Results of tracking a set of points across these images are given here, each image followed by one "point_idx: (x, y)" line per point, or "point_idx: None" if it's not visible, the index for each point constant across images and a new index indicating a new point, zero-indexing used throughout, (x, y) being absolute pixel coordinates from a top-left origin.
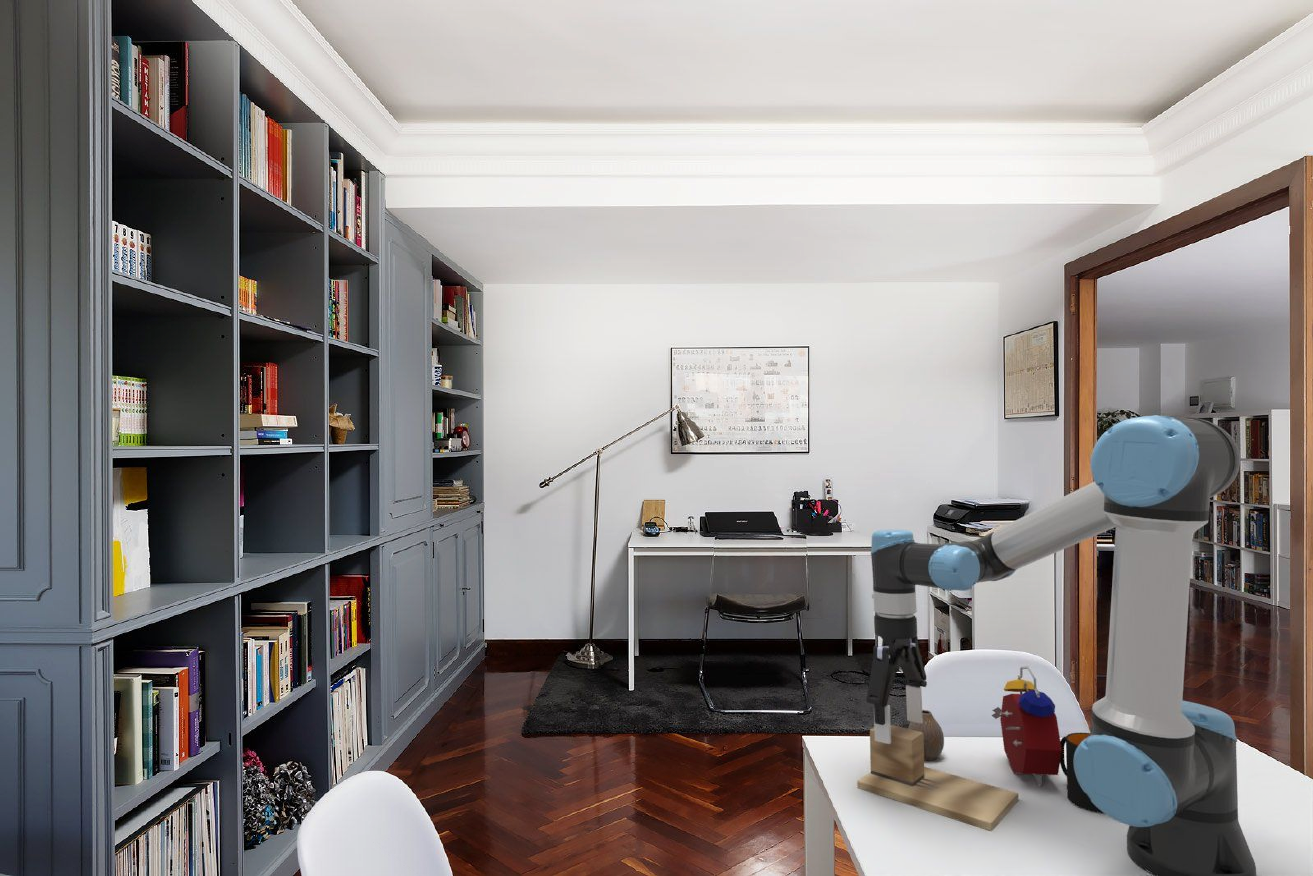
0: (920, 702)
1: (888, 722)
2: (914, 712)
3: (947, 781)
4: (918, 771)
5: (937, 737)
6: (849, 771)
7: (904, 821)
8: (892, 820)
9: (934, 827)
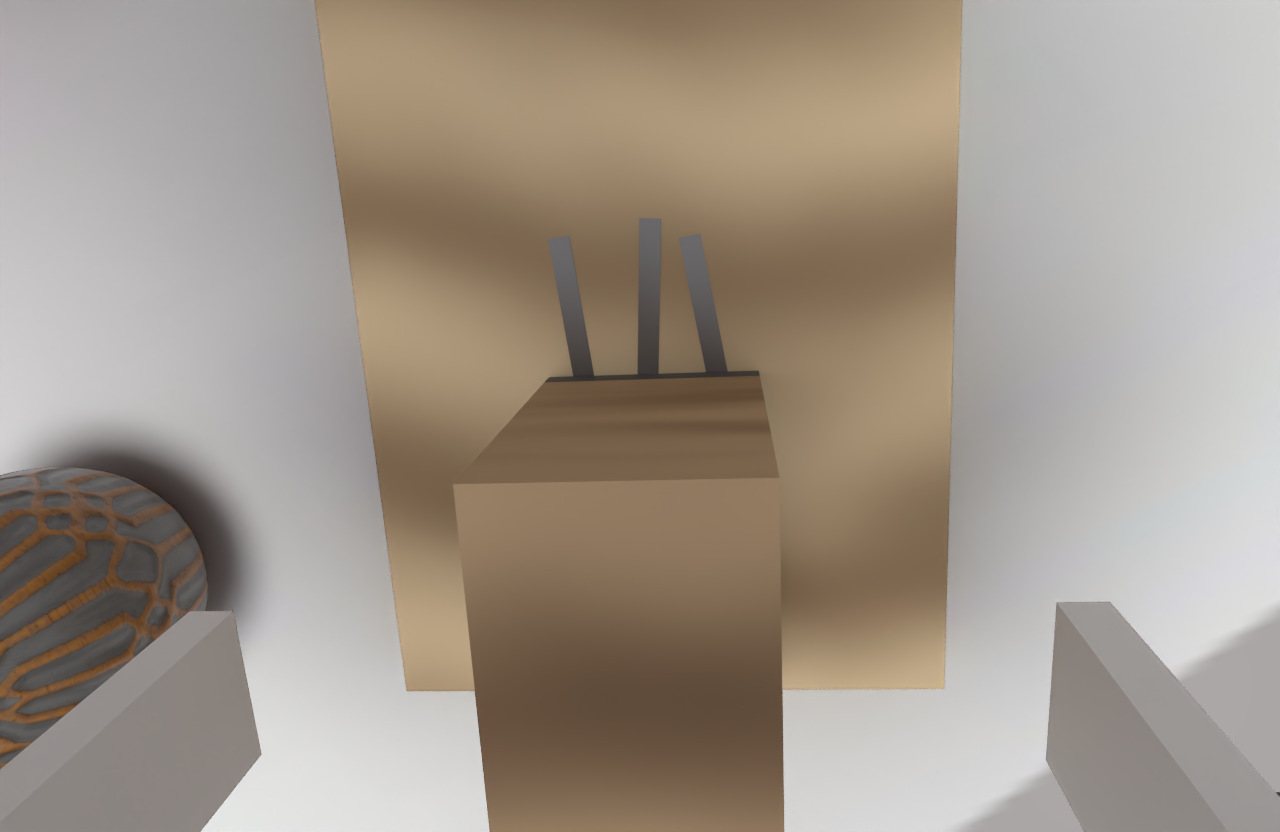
0: (55, 764)
1: (1251, 765)
2: (182, 744)
3: (488, 220)
4: (648, 390)
5: (25, 514)
6: None
7: (1214, 211)
8: (1253, 279)
9: (1170, 8)
